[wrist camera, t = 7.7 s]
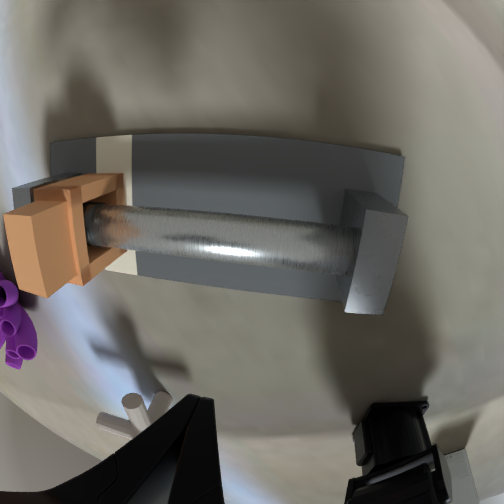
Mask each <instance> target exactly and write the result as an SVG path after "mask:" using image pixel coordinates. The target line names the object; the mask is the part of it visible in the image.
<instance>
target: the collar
mask: <svg viewBox="0 0 504 504" xmlns="http://www.w3.org/2000/svg"><path fill="white" fill-rule="evenodd" d="M33 191H34V202H32V203H30V204H27V205H25V206H22V207H19V208H17V209H15V210H12V211H10V212H7V213H5V214H3V216H4V222H5V229H6V234H7V240H8V245H9V250H10V255H11V259H12V264H13V268H14V272H15V276H16V280H17V284H18V287H19V289H20V290H23V291H26V292H29V293H32V294H35V295H38V296H41V297H45V298H48V297H50V296H51V295H52V294H53V293H55V292H56V291H57V290H59V289H60V288H61V287H62V286H64V285H65V284H66V283H72V284H76V285H81V286H84V285H85V284H86V283H87V282H89V281H90V280H91V279H92V278H94V277H95V276H96V275H97V274H99V273H100V272H101V271H102V270H104V269H105V268H106V267H107V266H109V265H110V264H111V263H112V262H114V261H115V260H116V259H118V258H119V257H120V256H121V255H123V254H124V253H125V252H127V250H126V249H119V248H111V247H104V246H103V247H94V246H87V243H86V235H85V226H84V216H83V204H82V203H84V202H102V203H106V204H113V205H124V182H123V173H88V174H84V175H80V176H76V177H73V178H69V179H66V180H62V181H59V182H56V183H52V184H49V185H46V186H43V187H40V188H37V189H34V190H33Z"/></svg>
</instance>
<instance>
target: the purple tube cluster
mask: <svg viewBox="0 0 504 504" xmlns="http://www.w3.org/2000/svg"><path fill="white" fill-rule="evenodd" d="M18 296H19V293H18V289H17V287H16V286H15V284H14V283H12V282H11V281H9V280H5V278H4V277H3V275H2V273H1V271H0V349H1V347H2V346H3V344H4V342H5V340H6V360H5V362H6V364H7V365H9V366H11V367H13V368H16V369H20V368H21V365H22V361H23V359H25V360H31V359H33V358H35V356H36V353H37V334H36V331H35V328H34V325H33V323H32V321H31V319H30V317H29V316H28V314H27V313H26V311H25V310H24V309H23V307H22V306H21V304H20V303H19V301H18Z"/></svg>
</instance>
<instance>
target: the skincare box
mask: <svg viewBox="0 0 504 504" xmlns="http://www.w3.org/2000/svg"><path fill="white" fill-rule="evenodd" d="M444 456H445V458H446V461H447V464H448V467H449V470H450V474H451V482H452V498H453V501H452V503H449V504H479V500H478V495H477V491H476V487H475V483H474V479H473V476H472V472H471V468H470V464H469V460H468V456H467V452H466V449H462V450H460V451H457V452H454V453H451V454H447V455H444ZM434 470H435V469H433V470H431V471H434Z"/></svg>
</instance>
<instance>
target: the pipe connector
mask: <svg viewBox="0 0 504 504" xmlns="http://www.w3.org/2000/svg"><path fill="white" fill-rule="evenodd" d="M172 401H173V399H172V397H171V396H170V395H169V394H167V393H165V392H162V391H158V392H157V393H156V395H155V396H154V398H153V400H152V402H151V404H150V406H149V408H148V410H147V409H146V406H145V404H144V401H143V399H142V397H141V395H139V394H137V393H129V394H127V395H125V396H124V397H123V398H122V405H123V407H124V409H125V411H126V413H127V415H128V417H129V420H130V421H129V420H126V419H123V418H120V417H116V416H113V415H110V414H107V413H105V412H100V413H99V415H98V417H97V421H96V424H97V427H98V428H100V429H102V430H105V431H108V432H110V433H113V434H116V435H119V436H122V437H125V438H128V439H131V440H132V439H133V438H134V437H136V436H137V435H138V434H139V433H141V432H142V431H143V430H145V429H146V428H147V427H148V426H150V425H151V424H152V423H153V422H155V421H156V420H157V419H158V418H160V417H161V416H162V415H163V414H165V413H166V412H167V411H168V410H169V408H170V405H171V403H172Z"/></svg>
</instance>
